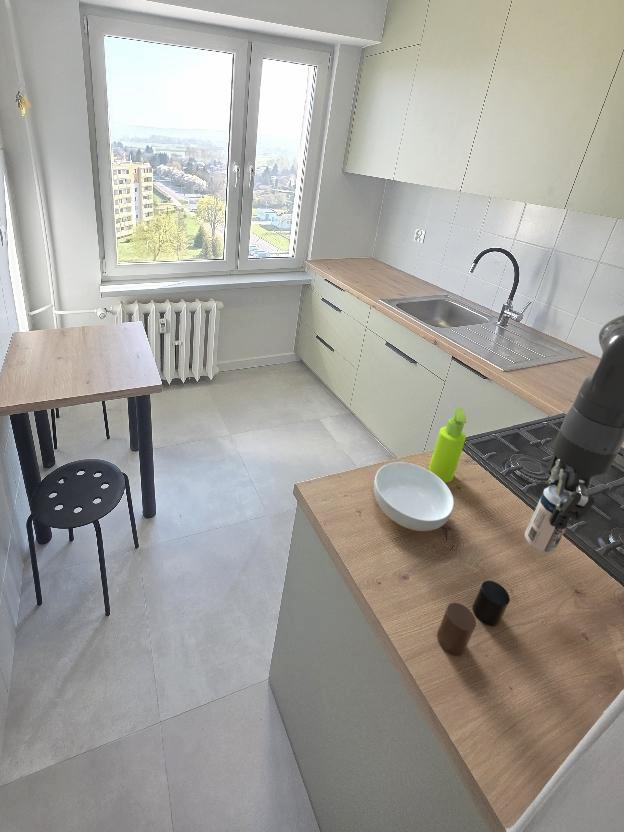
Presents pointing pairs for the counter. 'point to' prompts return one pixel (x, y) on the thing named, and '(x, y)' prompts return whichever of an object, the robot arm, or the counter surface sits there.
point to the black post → (491, 603)
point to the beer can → (545, 523)
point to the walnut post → (456, 629)
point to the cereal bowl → (413, 496)
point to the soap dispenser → (448, 447)
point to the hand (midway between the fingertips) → (553, 513)
